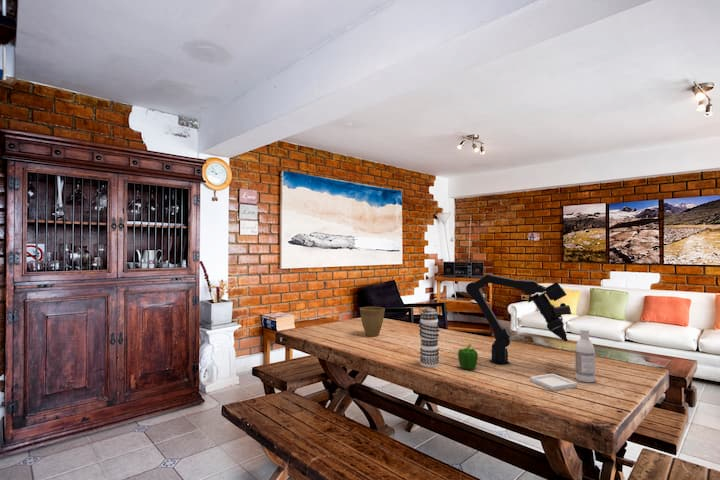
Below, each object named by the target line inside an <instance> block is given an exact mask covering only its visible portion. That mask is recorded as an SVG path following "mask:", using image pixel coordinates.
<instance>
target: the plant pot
mask: <svg viewBox="0 0 720 480" xmlns="http://www.w3.org/2000/svg"><path fill="white" fill-rule="evenodd" d="M385 311H386V308H385V307H381V306H363V307H359V313H360V319H361V324H362V328H363V331H364V333H365V336H367V337H371V338H372V337H378V336H379V335H380V332H381V330H382V326H383V321H384V317H385Z"/></svg>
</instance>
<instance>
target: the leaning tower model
mask: <svg viewBox="0 0 720 480" xmlns="http://www.w3.org/2000/svg"><path fill="white" fill-rule="evenodd" d="M438 313H439V311H437V309H436V308H435V307H424V308H422V310H421V311H420V320H419V321H418V324H419V326H418V327H419V339H420V348H419V350H420V352H419V354H420V355H419V358H420V359H419V361H420V363H419V365H420V366H422V367H427V368H436V367H438V366H439V365H440V363H439V362H440V355H439V354H440V352H439V351H440V348H439V343H438V342H439V338H440V337H439V336H440V334H439V332H440V330H439V328H440V326H439V324H440V323H441V322H440V321H439V319H438Z"/></svg>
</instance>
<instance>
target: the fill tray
mask: <svg viewBox="0 0 720 480" xmlns="http://www.w3.org/2000/svg"><path fill="white" fill-rule="evenodd" d="M529 382H532V383H534V384H535V385H538V386H541V387H543V388H545V389H547V390H549V391H552V392H557V391H562V390H569V389H573V388H574V389H575V388H578V383H577V382H576V381H573V380H571V379H568V378H565V377H564V376H560V375H558V374H555V373H548V374H547V373H546V374H540V375H533V376H530V377H529Z"/></svg>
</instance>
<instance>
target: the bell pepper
mask: <svg viewBox="0 0 720 480" xmlns="http://www.w3.org/2000/svg"><path fill="white" fill-rule="evenodd" d="M470 347H472V344H471V343H470V344H468V345H467V347H465V348H459V349H458V351H457V352H458V353H457V355H458V356H457V357H458V363H459V366H460V367H461V369H463V370H464V369H466V370H474V369H476V368H477V363H478V359H479V358H478V357H479V354H478V351H476V350H475V349H474V348H470Z"/></svg>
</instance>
